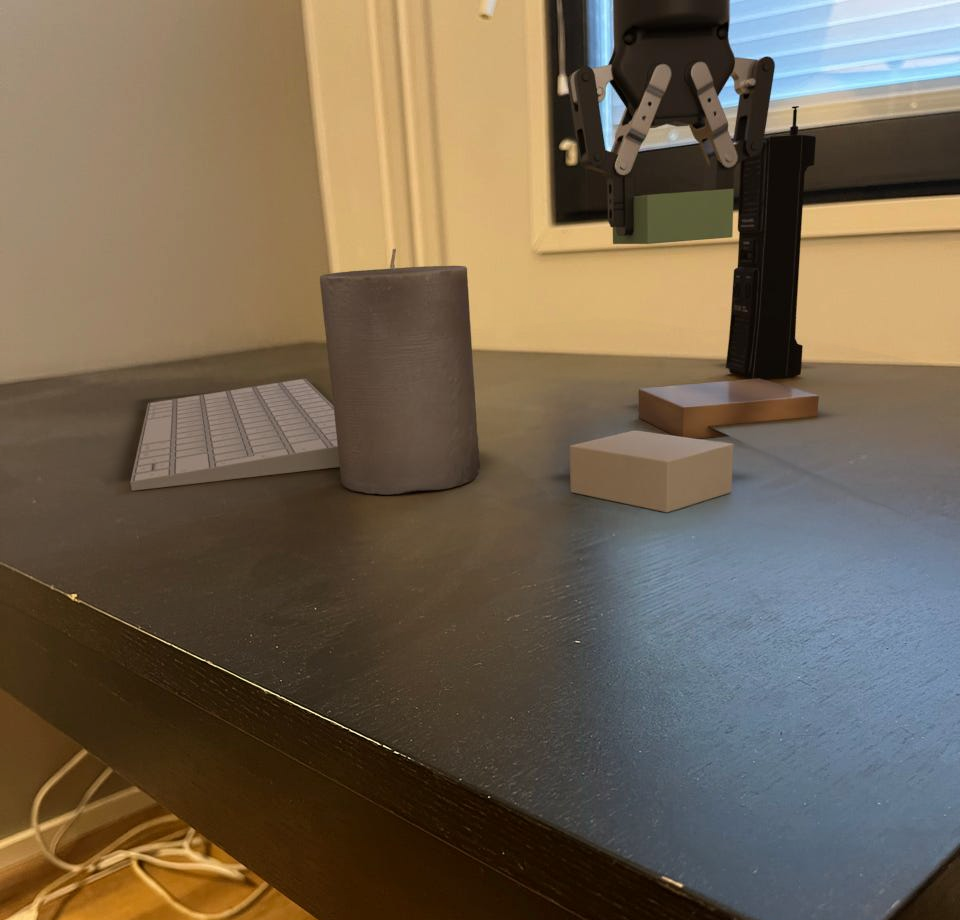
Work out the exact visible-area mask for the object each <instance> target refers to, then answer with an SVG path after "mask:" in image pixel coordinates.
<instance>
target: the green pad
mask: <svg viewBox="0 0 960 920" xmlns="http://www.w3.org/2000/svg"><path fill="white" fill-rule="evenodd" d="M734 193H735V188H733V189H722V190H709V191H705V190H695V191H683V192H669V193H655V194H644V195H638V196H637V195H636V196H635V197H634V232H633V235H627V236H618V235H617V233H616V227H612V244H613V245H654V244H655V245H656V244H666V243H676V242H677V243H678V242H692V241H703V240H716V239H730V238H733V233H734V232H733V230H734V229H733V227H734V195H735V194H734Z"/></svg>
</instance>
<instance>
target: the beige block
mask: <svg viewBox="0 0 960 920" xmlns="http://www.w3.org/2000/svg"><path fill="white" fill-rule="evenodd" d="M733 464H734V444H733V443H731V442H730V443H729V442H722V441H715V440H707V439H702V438H700V439H694V438H687V437H679V436H674V435H672V434H665V433H657V432H650V431H642V430H630V431H625V432H622V433H617V434H614V435H609V436H603V437H601V438H600V437H599V438H597V439H592V440H587V441H583V442H580V443H576V444H571V445H569V476H570V477H569V478H570V479H569V481H570V484H569V485H570V493H572V494H577V495H582V496H587V497H592V498H596V499H601V500H606V501H610V502H614V503H615V502H616V503H620V504H624V505H629V506H634V507H639V508H644V509H649V510H652V511H657V512H662V513H670V512H673V511H677V510H679V509H680V510H681V509H682V508H686V507H689V506H692V505H696V504H699V503H702V502H705V501H709V500H711V499H715V498H717V497H720V496H721V497H722V496H724V495H728V494H730V493H732V491H733V490H732V488H733V486H732V485H733Z"/></svg>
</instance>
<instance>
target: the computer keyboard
mask: <svg viewBox="0 0 960 920" xmlns="http://www.w3.org/2000/svg"><path fill="white" fill-rule="evenodd" d="M135 455H136V456H135V460H134V464H133V469H132V473H131V477H130V481H129V484H130V487H131V488H130V489H131V491H133V492H135V491H141V490H142V491H143V490H150V489H159V488H166V487H167V488H169V487H177V486H186V485H194V484H202V483H203V484H204V483H212V482H221V481H229V480H238V479H245V478H247V479H248V478H255V477H263V476H272V475H282V474H290V473H298V472H305V471H306V472H307V471H315V470H324V469H334V468H340V464H339V453H338V445H337V434H336V425H335V415H334V405H333V403H331V402H330V401H329V400H328V399H327V398H326V397H325V396H324V395H323V394H322V393H321V392H320V391H319V390H318V389H317V388H316V387H315V386H314V385H313V384H312V383H311V382H309V380H308V379H307V378H300V379H299V378H298V379H293V380H286V381H281V382H280V381H279V382H275V383H268V384H261V385H255V386H250V387H243V388H236V389H229V390H223V391H217V392H210V393H205V394H203V393H202V394H197V395H191V396H184V397H179V398H173V399H165V400H159V401H152V402H148V403H147V406H146V411H145V416H144V419H143V424H142V428H141V433H140V436H139V442H138V446H137V450H136V454H135Z"/></svg>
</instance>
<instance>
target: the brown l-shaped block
mask: <svg viewBox="0 0 960 920" xmlns="http://www.w3.org/2000/svg"><path fill="white" fill-rule="evenodd" d="M819 397H820V396H819V395H818V394H815V393H812V392H808V391H805V390H801V389H798V388H795V387H790V386H787V385H784V384H781V383H780V384H779V383H776V382H773V381H770V380H767V379H759V378H757V379H747V378H745V379H735V380H723V381H712V382H711V381H710V382H699V383H690V384H688V383H687V384H677V385H666V386H655V387H653V386H652V387H643V388H638V419H641V420H642V421H645V422H647V423H649V424H650V425H653V426H655V427H657V428H659V429H660V430H662V431H664V432H666V433H668V434H669V435H672V436H679V437H687V438H694V439H709V438H721V437H730V435H729V434H727V433H725V432H723V431H720V430H718V429H716V428H713V426H723V425H734V424H743V423H744V424H746V423H756V422H767V421H778V420H788V419H800V418H810V417H818V413H819V401H820V400H819V399H820V398H819Z"/></svg>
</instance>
